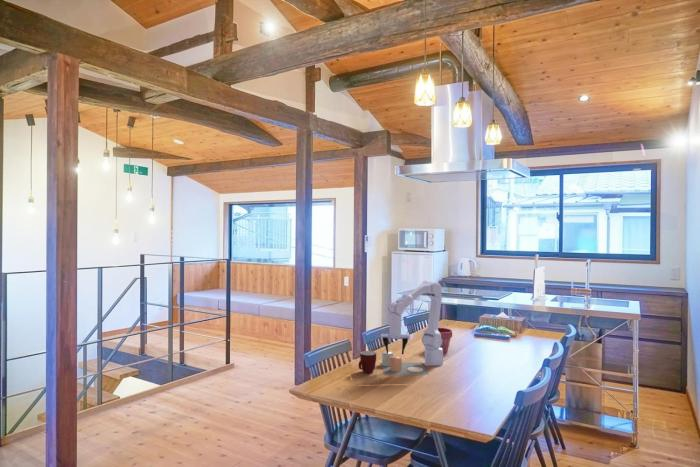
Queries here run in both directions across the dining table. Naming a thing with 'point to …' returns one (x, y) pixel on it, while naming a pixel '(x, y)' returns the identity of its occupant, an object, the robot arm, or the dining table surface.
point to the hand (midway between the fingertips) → (394, 353)
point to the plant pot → (445, 338)
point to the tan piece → (395, 363)
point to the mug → (367, 361)
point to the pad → (415, 369)
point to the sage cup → (386, 358)
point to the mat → (405, 369)
